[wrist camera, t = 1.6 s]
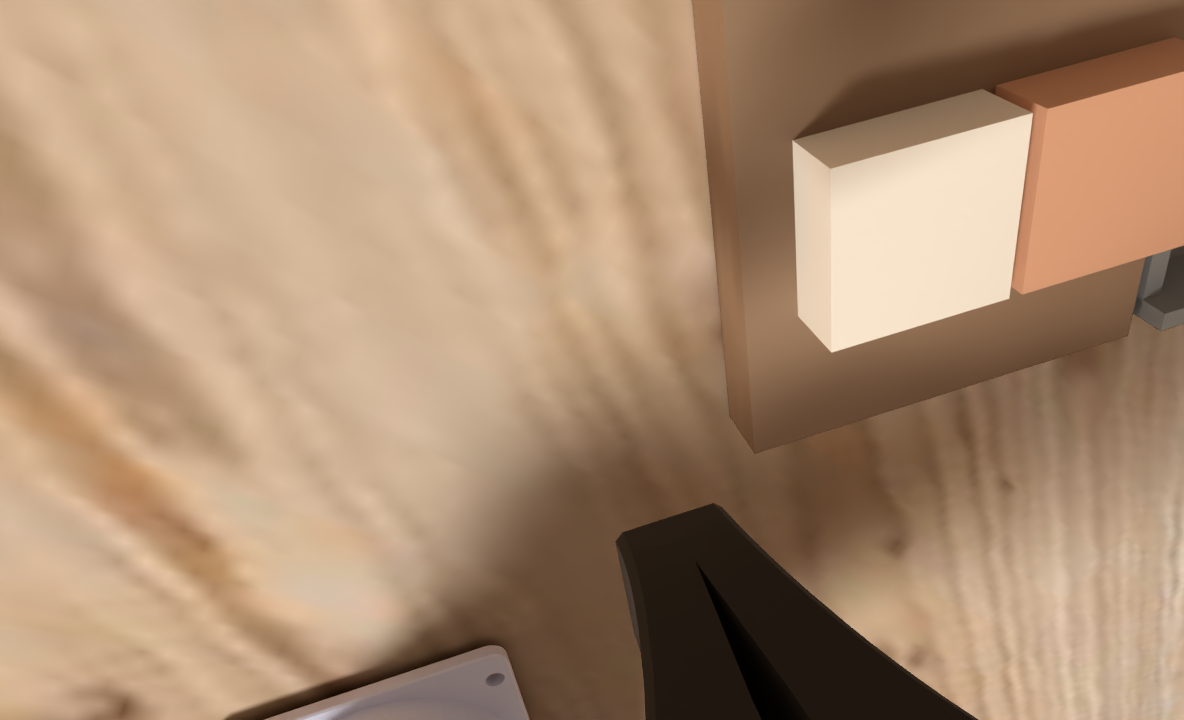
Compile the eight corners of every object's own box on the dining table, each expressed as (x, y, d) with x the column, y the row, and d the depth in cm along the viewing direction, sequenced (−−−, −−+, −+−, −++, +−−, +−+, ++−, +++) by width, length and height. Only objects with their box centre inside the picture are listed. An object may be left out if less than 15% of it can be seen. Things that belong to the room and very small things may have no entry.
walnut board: (1085, 306, 24) (1127, 335, 23) (729, 416, 23) (754, 453, 21) (1175, -172, 17) (1240, -166, 16) (686, -56, 16) (718, -42, 15)
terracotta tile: (1136, 215, 21) (1189, 243, 19) (978, 262, 20) (1022, 294, 19) (1174, 37, 18) (1237, 56, 17) (996, 85, 18) (1048, 109, 17)
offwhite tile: (965, 266, 20) (1009, 298, 19) (798, 316, 19) (831, 352, 18) (982, 89, 18) (1033, 112, 16) (792, 140, 17) (830, 168, 16)
